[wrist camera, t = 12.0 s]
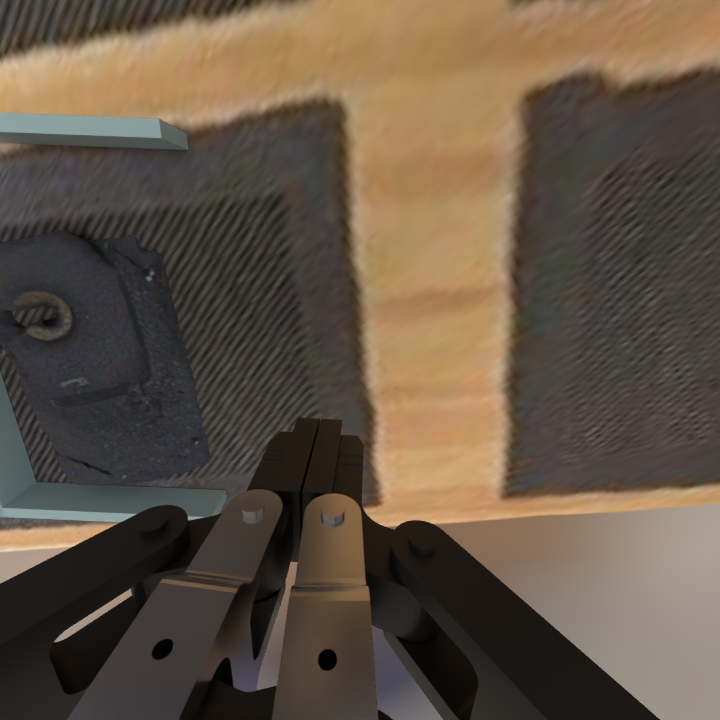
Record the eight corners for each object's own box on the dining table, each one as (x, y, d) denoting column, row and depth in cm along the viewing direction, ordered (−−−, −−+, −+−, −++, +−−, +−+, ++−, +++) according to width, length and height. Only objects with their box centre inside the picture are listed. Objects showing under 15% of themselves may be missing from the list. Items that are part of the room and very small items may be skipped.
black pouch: (69, 476, 35) (26, 512, 31) (-33, 242, 28) (-109, 244, 23) (221, 467, 35) (200, 502, 30) (158, 223, 27) (117, 222, 23)
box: (-95, 122, 25) (-166, 106, 21) (186, 133, 25) (158, 118, 21) (29, 489, 35) (-6, 516, 32) (226, 498, 35) (212, 526, 32)
